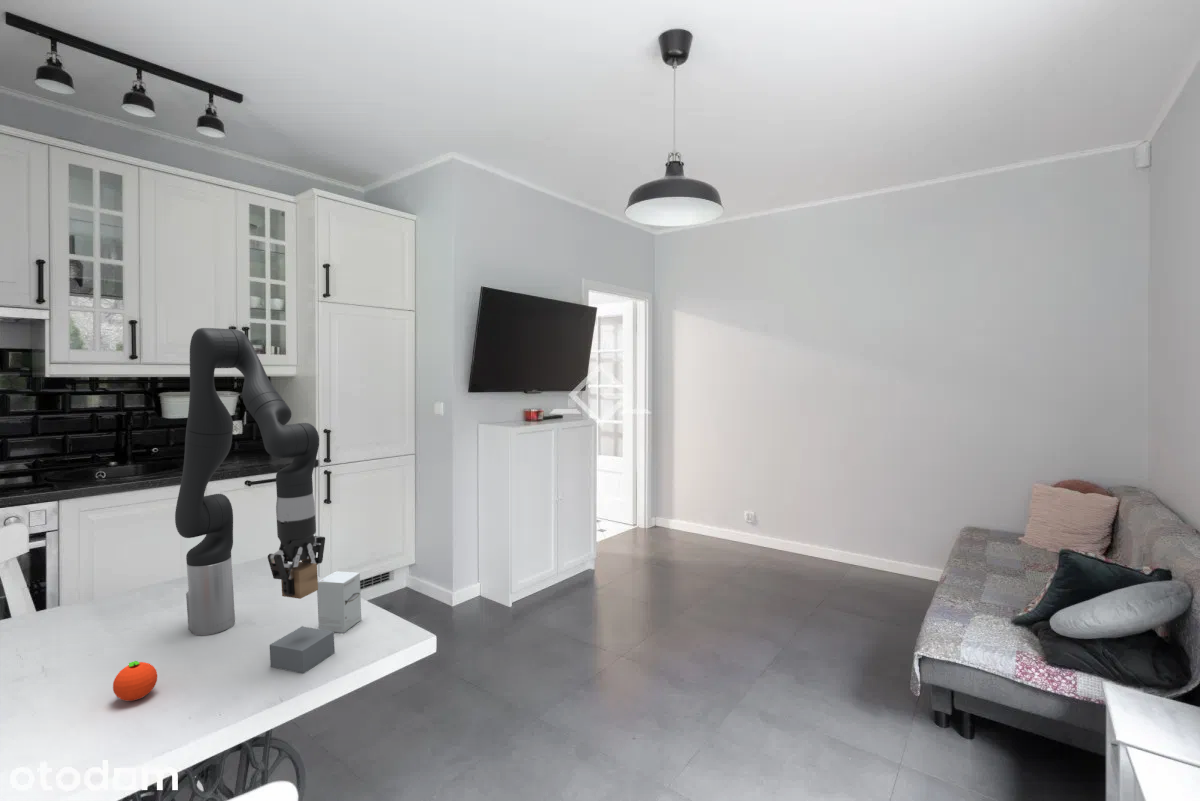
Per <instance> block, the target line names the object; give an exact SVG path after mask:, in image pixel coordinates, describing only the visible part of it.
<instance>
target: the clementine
mask: <svg viewBox="0 0 1200 801" xmlns="http://www.w3.org/2000/svg"><path fill="white" fill-rule="evenodd" d="M157 682H158V672H157V669H156V668H155V666H154V665H152V664H151V663H149V662H144V661H138V660H134V661H131V662H129V663H128V665H126V666H124V667H123V668H122V669H121V670H120V671H119V672H118V673H117V674H116V676H115V678H114V680H113V683H112V690H113V694H114V695H115V696H116V697H117V698H118V699H120V700H122V701H127V702H132V701H133V702H134V701H137V700H140V699H142V698H144V697H145V696H148V695H149V693H151V692H152V691H153V689H154V687H156V685H157Z"/></svg>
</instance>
